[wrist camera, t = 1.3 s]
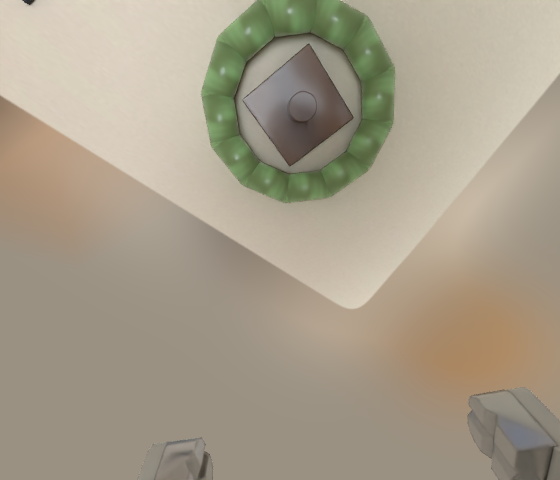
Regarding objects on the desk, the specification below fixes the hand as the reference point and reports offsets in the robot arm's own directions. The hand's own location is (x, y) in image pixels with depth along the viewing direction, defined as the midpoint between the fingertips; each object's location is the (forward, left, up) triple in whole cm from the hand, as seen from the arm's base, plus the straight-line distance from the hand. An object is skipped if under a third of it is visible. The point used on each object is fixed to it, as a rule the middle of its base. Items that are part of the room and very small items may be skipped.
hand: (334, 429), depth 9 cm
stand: (-7, -8, -27) cm, 29 cm away
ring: (-7, -8, -25) cm, 27 cm away
